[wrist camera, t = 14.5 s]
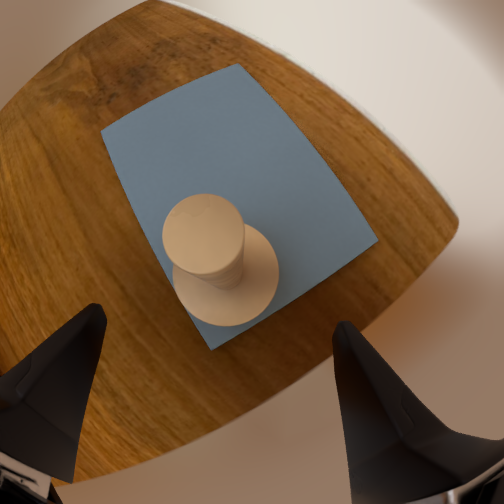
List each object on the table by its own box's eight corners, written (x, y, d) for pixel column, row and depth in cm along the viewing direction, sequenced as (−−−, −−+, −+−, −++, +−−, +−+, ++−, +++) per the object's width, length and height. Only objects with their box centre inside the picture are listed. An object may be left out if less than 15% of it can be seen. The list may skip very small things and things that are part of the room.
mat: (375, 242, 19) (379, 240, 18) (212, 349, 17) (211, 350, 17) (238, 67, 21) (238, 63, 21) (102, 134, 20) (100, 131, 19)
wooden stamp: (250, 334, 17) (271, 404, 5) (172, 298, 17) (57, 292, 5) (285, 255, 18) (360, 177, 6) (207, 222, 18) (160, 102, 6)
